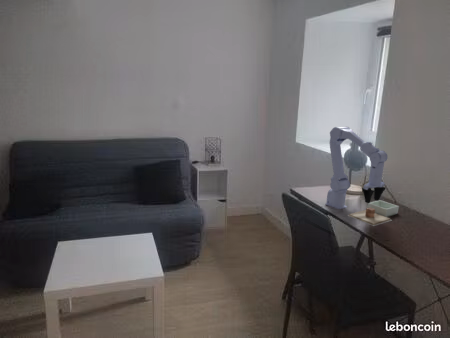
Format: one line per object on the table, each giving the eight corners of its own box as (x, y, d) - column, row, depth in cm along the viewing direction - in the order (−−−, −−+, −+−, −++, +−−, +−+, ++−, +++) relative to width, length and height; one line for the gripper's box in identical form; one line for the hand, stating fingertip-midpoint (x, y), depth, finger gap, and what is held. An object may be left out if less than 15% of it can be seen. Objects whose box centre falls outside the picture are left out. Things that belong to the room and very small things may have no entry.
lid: (349, 215, 177) (350, 206, 176) (365, 211, 185) (367, 202, 184) (373, 225, 166) (374, 215, 165) (390, 220, 174) (391, 211, 173)
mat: (346, 215, 178) (346, 215, 178) (365, 210, 186) (365, 210, 186) (373, 226, 165) (373, 226, 165) (392, 220, 174) (392, 220, 174)
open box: (366, 210, 186) (367, 203, 185) (378, 207, 192) (379, 200, 191) (385, 217, 177) (386, 209, 176) (397, 214, 183) (398, 206, 182)
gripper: (374, 178, 163) (370, 206, 166) (391, 175, 171) (387, 201, 174) (361, 175, 169) (357, 201, 172) (378, 172, 177) (375, 197, 180)
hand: (371, 201), depth 174 cm, fingers open, 7 cm apart
